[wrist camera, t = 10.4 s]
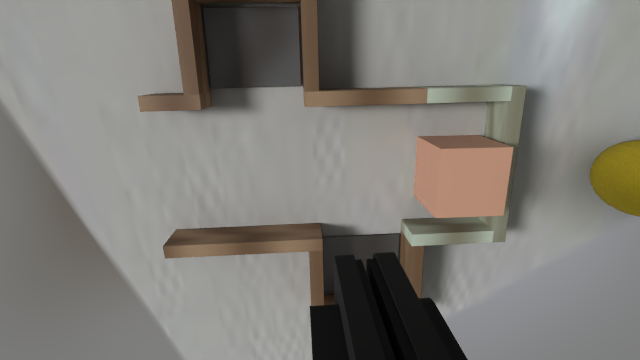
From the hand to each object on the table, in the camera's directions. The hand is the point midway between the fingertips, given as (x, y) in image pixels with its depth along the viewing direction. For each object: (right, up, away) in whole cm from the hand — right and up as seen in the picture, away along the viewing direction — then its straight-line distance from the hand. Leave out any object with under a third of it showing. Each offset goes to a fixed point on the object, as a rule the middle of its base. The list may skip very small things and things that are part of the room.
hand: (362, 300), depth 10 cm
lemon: (+22, +5, +20) cm, 31 cm away
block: (+9, +5, +20) cm, 22 cm away
